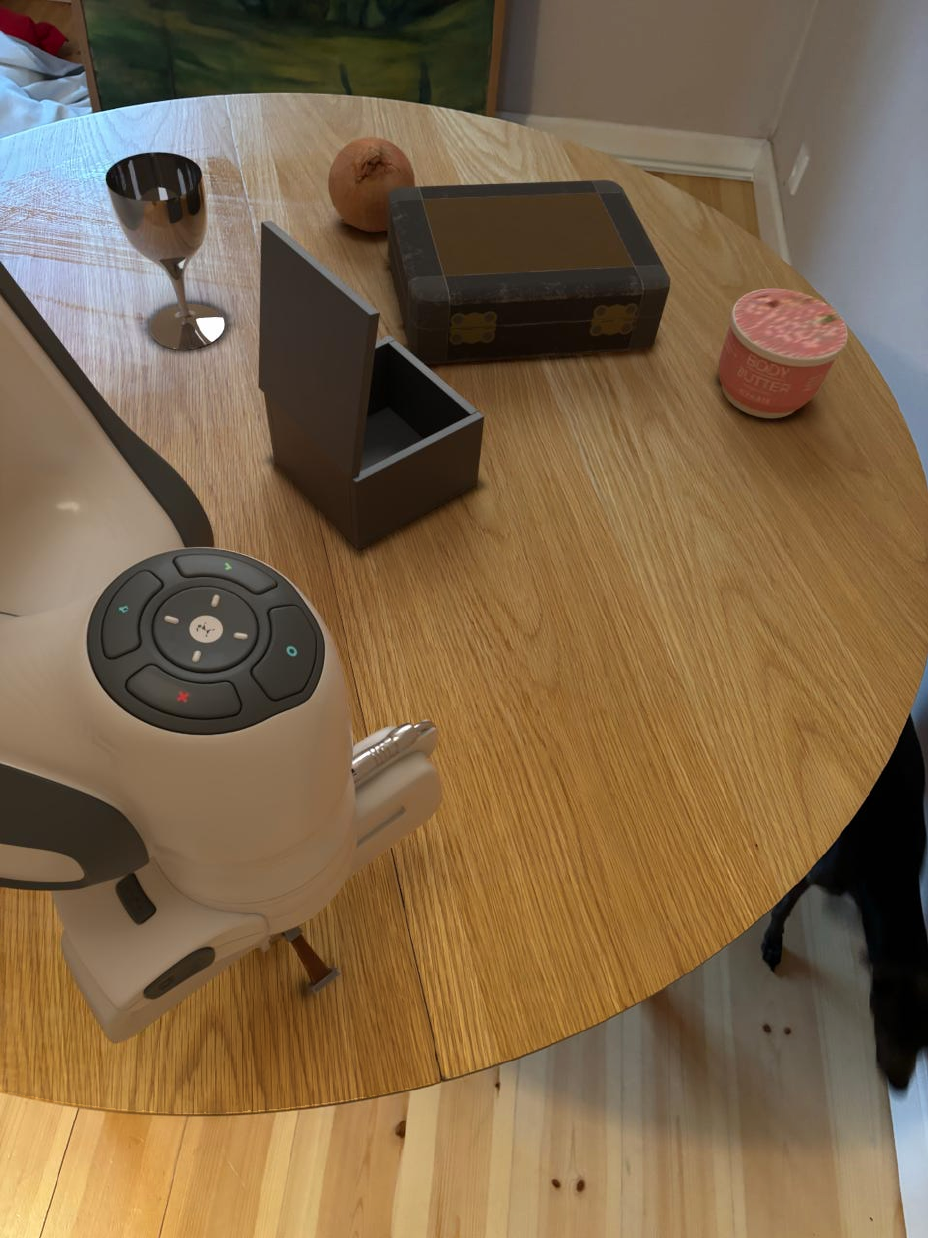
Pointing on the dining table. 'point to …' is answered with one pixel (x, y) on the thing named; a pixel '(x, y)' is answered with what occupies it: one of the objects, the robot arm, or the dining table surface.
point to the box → (389, 450)
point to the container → (778, 351)
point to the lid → (315, 348)
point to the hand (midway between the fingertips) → (284, 921)
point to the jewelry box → (523, 270)
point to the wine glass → (166, 235)
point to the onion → (367, 181)
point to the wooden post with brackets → (311, 961)
